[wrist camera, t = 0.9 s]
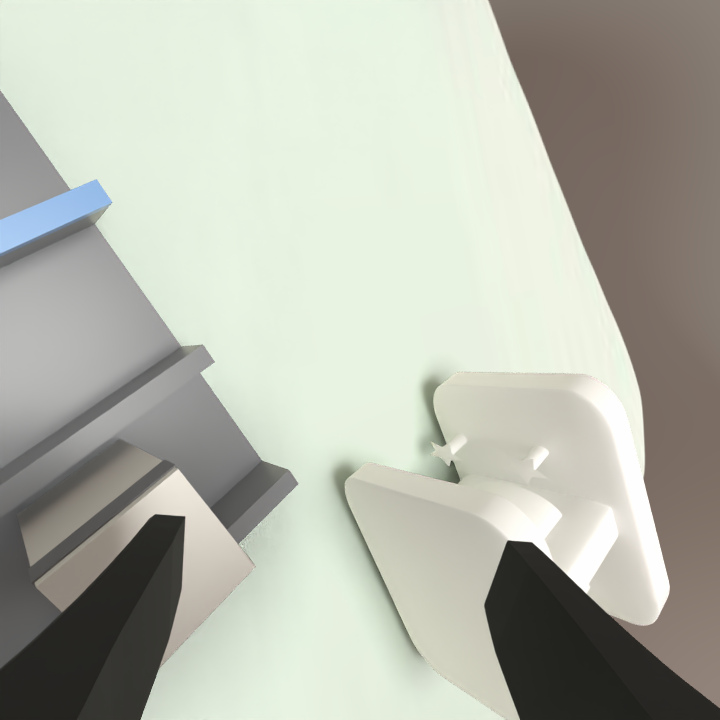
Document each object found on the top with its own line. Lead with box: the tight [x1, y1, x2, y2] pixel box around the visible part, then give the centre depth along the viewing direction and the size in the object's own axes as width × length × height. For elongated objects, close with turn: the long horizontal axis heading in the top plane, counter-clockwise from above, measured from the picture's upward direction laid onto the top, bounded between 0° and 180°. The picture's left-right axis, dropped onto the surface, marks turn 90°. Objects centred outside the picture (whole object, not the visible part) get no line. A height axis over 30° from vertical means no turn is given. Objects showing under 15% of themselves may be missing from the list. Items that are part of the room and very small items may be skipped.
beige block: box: [17, 439, 256, 668], centre depth 16 cm, size 4×4×7 cm
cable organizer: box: [345, 372, 669, 720], centre depth 26 cm, size 15×11×12 cm
